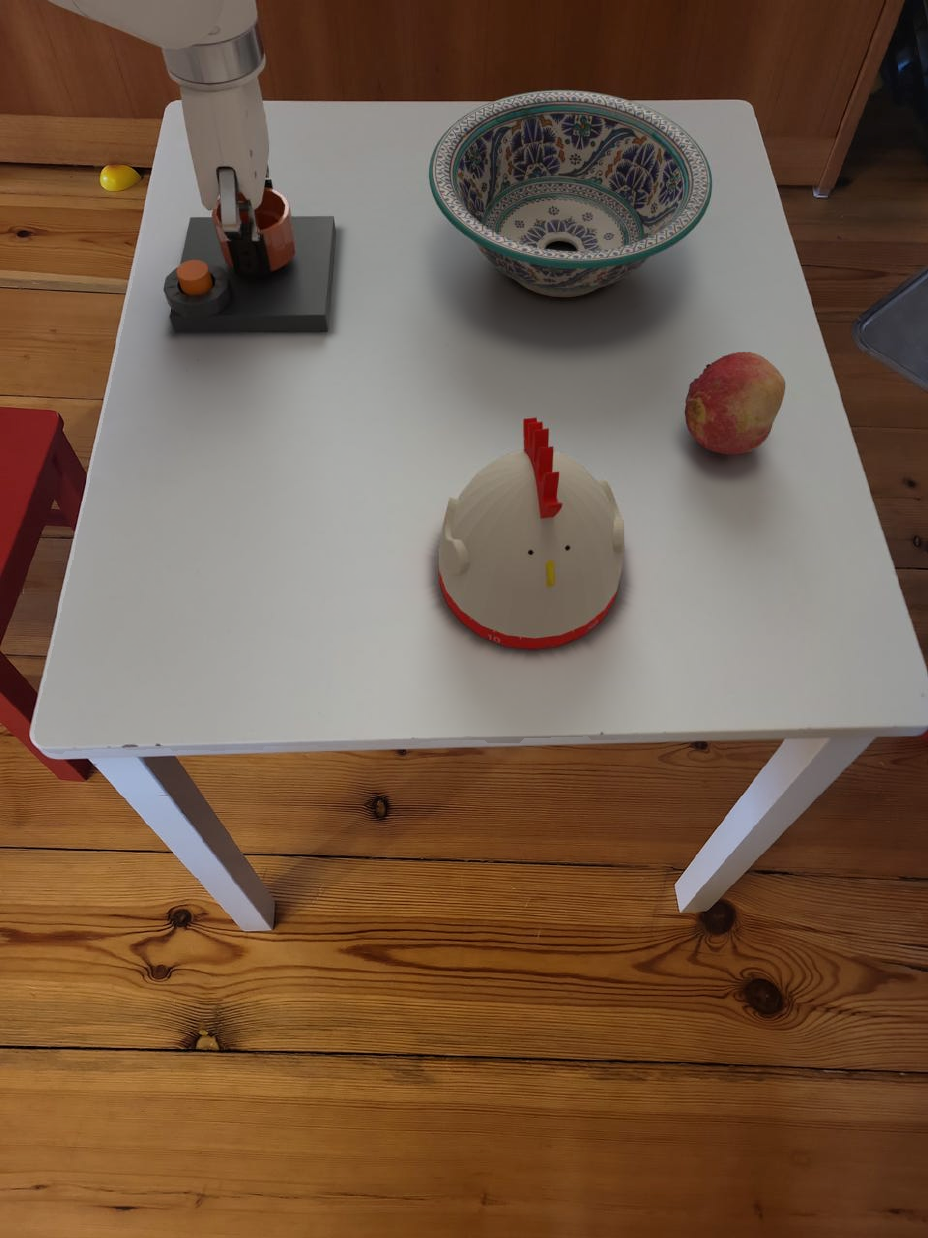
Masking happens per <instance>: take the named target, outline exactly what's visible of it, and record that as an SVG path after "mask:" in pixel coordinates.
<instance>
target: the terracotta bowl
mask: <svg viewBox="0 0 928 1238" xmlns="http://www.w3.org/2000/svg"><path fill="white" fill-rule="evenodd" d="M238 201H249V200H247V199H246V198H245V197H244V195H243V194H238ZM239 216H240V220H241V221H242V223H246V224H248V225H249V226H250V223H249V215H248V211H239ZM211 217H212V219H213V223H214V227H215V230H216V234H217V238H218V242H219V245H220V249H221V253H222V256H223V258H224V260H225V262H226V263H227V264H228V265H230V266H231V267H232V268H233V264H232V260H231V256H230V252H229V248H228V244H227V241H226V238H225V234H224V232H223V229H222V219H221V202H220V197H218V203H217V208H216V210H211ZM257 217H258V225H259V234H264V239H265V243H266V248H267V253H268V257H269V262H270V267H271V271H274V270H277V269H279V268H280V267H282V266H284V265H285V264H287V263H288V262H289V261H290V260H291V259H292V257H293V256H294V255H295V252H296V239H295V233H294V228H293V222H292V212H291V206H290V203H289V202H288V199H287V197H286V196H285V195H284V194H282V193H281V192H279V191H278V190H276V189H274V188H273V189H270V188H267V187H264V191H263V197H262V202H261V204H260V205H259V206H258V208H257Z"/></svg>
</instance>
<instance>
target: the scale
mask: <svg viewBox="0 0 928 1238" xmlns="http://www.w3.org/2000/svg"><path fill="white" fill-rule="evenodd" d="M291 216H292V215H291ZM292 222H293V228H294V233H295V239H296V252H295V255H294V256H293V257H292V259H291V260H290V261H289V262H288V263H287V264H285V265H284V266H282V267H280V268H279V269H277V270H274V271H271V274H270V275H269V276H237V275H236V274H235V272H234V268H232V267H231V266H230V265H228V264H227V263H226V262H225V260H224V258H223V256H222V253H221V249H220V245H219V242H218V238H217V234H216V230H215V227H214V223H213V219H212V216H191V217H189V222H188V225H187V226H188V227H187V231H186V236H185V241H184V245H183V250H182V255H181V260H180V263H179V266H180V265H181V264H182V263H184V262H186V261H189V260H200V261H203V262H204V263H206V264H207V266H208V268H209V272H210V275H211V279H212V282H213V286H212V289H211V290H210V291H209V292H208V293H205V294H202V295H200V296H189V295H186V294H185V293H184V292H183V291H182V289H181V286H180V283H179V280H178V276H177V268H178V267H179V266H177V267H176V268H174V269H173V270H172V271H171V272H170V273H169V274H167V276H166V277H165V281H164V284H163V293H164V296H165V298H166V301H167V304H168V305H169V308H170V311H169V316H168V317H169V320H170V323H171V325H172V329H173V331H174V333H176V334H180V333H181V334H182V333H183V334H185V333H186V334H188V333H191V334H194V333H195V334H196V333H279V332H280V333H281V332H282V333H283V332H284V333H285V332H287V333H288V332H289V333H291V332H298V333H299V332H328V331H329V322H330V321H329V320H330V312H331V311H330V310H331V299H332V298H331V297H332V285H333V273H334V262H335V249H336V239H337V238H336V237H337V236H336V235H337V231H336V223H335V216H334V215H309V216H307V215H306V216H305V215H304V216H303V215H302V216H301V215H300V216H299V215H297V216H295V215H294V216H292Z"/></svg>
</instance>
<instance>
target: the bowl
mask: <svg viewBox="0 0 928 1238" xmlns="http://www.w3.org/2000/svg"><path fill="white" fill-rule="evenodd" d="M428 179H429V186H430V190H431V194H432V198H433V199H434V201H435V203H436V205H437V207H438V209H439V211H440V212H441V213H442V214H443V216H444V217H445V218H446V220H447V221H448V223H450V224H452V225H453V227H454V228H455V229H457V230H458V231H459V232H461V233H462V234H463V235H464V236H465V237H467V238H468V239H470V240H471V241H473V242H474V244H475V245H476V247H477V248H478V250H479V251H480V252H481V254H482V255H483V256H484V257H485V259H486V260H487V261H488V262H489V263H490V264H491V265H492V266H493V267H494V268H496V269H497V270H499V272H501V273H502V274H504V275H505V276H507V277H509V278H511V279H513V280H515V281H516V282H517V283H519V284H520V286H523V287H524V288H526V289H528V290H530V291H532V292H534V293H537V294H540V295H544V296H547V297H548V296H549V297H555V298H556V297H557V298H573V297H578V296H583V295H586V294H589V293H592V292H594V291H596V290H598V289H599V288H603V287H606V286H610V285H612V284H614V283H616V282H618V281H621V280H622V279H624V278H626V277H628V276H629V275H630V274H632V273H633V272H635V271H636V270H638V269H639V268H640V267H641V266H642V265H643V264H644V263H645V262H647V260H648V259H649V258H650V257H652V256H656V255H657V254H660V253H661V252H664V251H666V250H667V249H669V248H671V247H673V246H674V245H676V244H678V243H679V242H680V241H682V240H683V239H685V238H686V237H687V236H688V235H689V234H690V233H691V232H692V231H693V230H694V229H696V227H697V225H699V223H700V222H701V220H702V218H703V217H704V215H705V213H706V212H707V209H708V207H709V205H710V201H711V199H712V194H713V193H712V192H713V176H712V171H711V167H710V165H709V161H708V159H707V157H706V155H705V153H704V152H703V150H702V148H701V147H700V146H699V144H698V143H697V142H696V140H694V138H693V137H692V136H691V134H689V133H688V132H687V131H686V130H685V129H683V128H682V127H681V126H680V125H679V124H678V123H676V122H674V121H673V120H672V119H670V118H668V117H667V116H665V115H663V114H662V113H660V112H658V111H656V110H654V109H652V108H649V107H647V106H645V105H643V104H640V103H637V102H636V101H632V100H630V99H626V98H622V97H619V96H615V95H610V94H605V93H599V92H595V91H585V90H574V89H573V90H571V89H554V90H553V89H552V90H550V89H549V90H540V91H539V90H538V91H532V92H523V93H518V94H513V95H510V96H506V97H503V98H499V99H496V100H493V101H491V102H488V103H486V104H484V105H481V106H480V107H477V108H476V109H473V110H472V111H470V112H468V113H466V114H465V115H463V116H462V117H461V118H460V119H458V120H457V121H456V122H454V123H453V124H452V125H451V126H450V127H449V128H448V129H447V130H446V131H445V132H444V134H443V135H442V136H441V137H440V139H439V140H438V141H437V144H436V145H435V147H434V149H433V151H432V153H431V156H430V161H429V166H428ZM554 242H566V243H569V244H571V245H573V246H574V247H575V248H576V251H575V250H574V251H573V250H572V251H571V250H559V249H551V248H547V247H548V246H549V245H550V244H552V243H554Z"/></svg>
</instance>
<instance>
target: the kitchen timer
mask: <svg viewBox="0 0 928 1238" xmlns="http://www.w3.org/2000/svg"><path fill="white" fill-rule="evenodd" d="M522 423H523V425H522V427H523V428H522V431H523V449H518V450H515V451H512V452H510V453H507V454H504V455H501V456H499V457H497V458H496V459H494V460H493V461H492V462H490V463H489V464H487V465H486V466H485V467H482V468H481V470H479V471H478V472H477V473H475V474H474V476H473V478H472V479H471V480H470V481H469V483H468V484H467V485H466V486H465V488H464V489H462V491H461V493H460V494H459V496H458V497H457V498H454V497H451V496H450V497H449V498H448V502H447V506H446V510H445V514H444V518H443V523H442V527H441V534H440V541H439V545H438V582H439V585H440V588H441V591H442V594H443V596H444V599H445V602H446V604H447V605H448V607H449V609H451V611H452V612H453V613H454V614H455V616H456V617H457V619H458V620H459V621H460V622H461V623H462V624H463V625H464V626H466V627H467V628H469V629H470V630H471V631H473V632H474V633H476V634H477V635H478V636H480V637H481V638H484V639H487V640H489V641H490V642H493V643H496V644H499V645H500V646H501V645H502V646H504V647H509V648H517V649H525V650H540V649H546V648H555V647H556V648H557V647H560V646H563V645H565V644H568V643H570V642H572V641H575V640H577V639H580V638H581V637H584V636H585V635H586V634H588V633H589V632H590V631H591V630H593V628H595V627H596V626H597V625H599V624H600V623H601V622H602V621H603V620H604V618H605V616H606V615H607V613H608V612H609V610H610V609H611V608H612V605H614V603H615V599H616V596H617V593H618V588H619V584H620V581H621V575H622V571H623V564H624V562H623V554H625V521H624V519H623V517H622V515H621V512H620V509H619V506H618V504H617V501H616V498H615V494H614V493H613V490H612V488H611V485H610V484H609V482H608V481H607V479H605V478H603V479H601V480H600V481H597V479H596V478H595V477H594V476H593V475H592V474H591V473H590V471H589V470H588V469H587V468H586V467H585V466H584V465H582V464H581V463H579V462H577V461H576V460H575V459H573V458H572V457H570V456H569V455H567V454H564V453H561V452H558V451H555V450H554V446H553V445H552V446H549V441H550V440H549V439H550V429H549V427H548V428H544V423H543V421H538V417H528V418H523V421H522Z"/></svg>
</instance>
